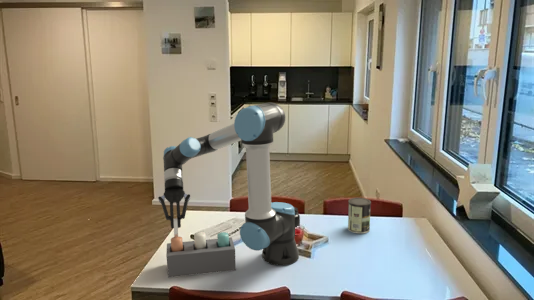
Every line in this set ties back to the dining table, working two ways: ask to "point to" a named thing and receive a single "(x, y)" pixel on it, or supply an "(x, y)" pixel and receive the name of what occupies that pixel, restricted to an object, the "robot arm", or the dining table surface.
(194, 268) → the button console
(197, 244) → the cream button
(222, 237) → the teal button
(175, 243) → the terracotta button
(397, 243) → the dining table surface
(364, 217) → the coffee can
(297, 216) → the supplement bottle
